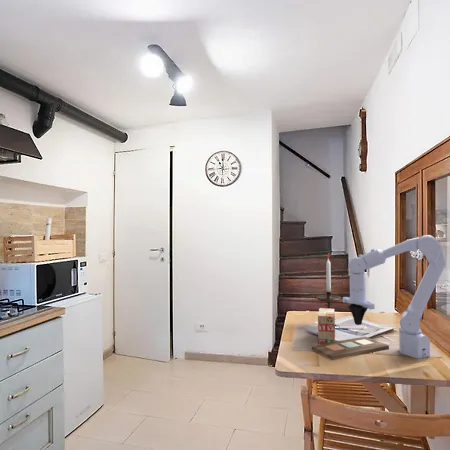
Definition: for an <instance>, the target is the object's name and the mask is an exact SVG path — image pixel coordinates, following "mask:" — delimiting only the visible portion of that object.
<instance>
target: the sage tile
mask: <svg viewBox="0 0 450 450" xmlns="http://www.w3.org/2000/svg"><path fill="white" fill-rule="evenodd" d="M340 345H341V346H343V347H346V348H348V349H353V348H358V347H360V345H357V344H355V343H353V342H346V343H340Z"/></svg>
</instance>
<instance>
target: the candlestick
mask: <svg viewBox="0 0 450 450" xmlns="http://www.w3.org/2000/svg"><path fill="white" fill-rule="evenodd" d="M326 258H327V261H326V268H325V269H326V270H325V271H326V273H325V275H326V279H325V280H326V282H325V283H326V290H324V293H325V292H326V294H319V295H316V300H317V301H320V302H325V303H327V308H326V309H331V303H334V302H335V303H336V302H340V301H342V297H341V296H339V295H335V294H332V293H333V292H334V291H333V290H332V286H331V285H332V283H331V282H332V279H331V277H332V276H331V275H332V274H331V272H332V271H331V268H332V267H331V266H332V265H331V261H330V252H328V254H327V257H326ZM336 325H337V324H336ZM337 326H339V325H337Z"/></svg>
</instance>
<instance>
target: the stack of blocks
mask: <svg viewBox="0 0 450 450" xmlns="http://www.w3.org/2000/svg"><path fill="white" fill-rule="evenodd" d="M335 318H336V317H335V308H330V309H327V308H323V307H320V308H318V314H317V333H318V336H317V338H318V339H317V342H318V343H317V345H319V344H324V343H330V342H336V331H335V325H336V321H335V320H336V319H335Z"/></svg>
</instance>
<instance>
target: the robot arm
mask: <svg viewBox="0 0 450 450" xmlns="http://www.w3.org/2000/svg"><path fill="white" fill-rule="evenodd" d="M442 248H443V247H442V246H441V244H440V243H439V241H438V240H437V239H436V237H434V236H433V235H430V234H425V235H422V236H420V237H419V236H417V237H414V238H410V239H407V240H404V241H402V242H400V243H397V244H395V245H392V246H391V247H388V248H386V249H383V250H382V249H379V248H376V249H375V248H373V249H370V251H369V252H367V253H365V254H361V253H360V254H358V257H353V258H352V259H351V260H349V262H348V265H347V266H348V270H349V296H343V297H342V302H343V303H346V304H350V305H348V309H349V310H350V313H351V315H352V318H353V322H354V325H356V326H360V325H362V324H363V319H364V316H365V314H366V312H367V310H374V309H376V308H375V303H372V302H370V301H368V300H367V296H366V295H367V294H366V292H367V291H366V286H367V285H366V284H367V283H366V273H365V272H366V271H365V270H370V269H373V268H375V267H378V266H381V265H383V264H385V263H386V260H387V259H389V258H392V257H395V256H398V255H399V254H403V253H405V252H408V251H409V252H415V253H416V252H418V250H419V251H420V252H421V253H422V254H423V255H424V256H425V258H426V260H427V262H428V266H427V268H426V269H425V272H424V274H423V276H422V278H421V281H420V283H419V284H418V287H417V288H416V291H415V293H414V295H413V297H412V299H411V301H410V303H409V305H408V307H407V308H406V310H404V311H403V312H402V313H401V314H400V320H399V326H400V327H399V329H398V332H399V333H398V342H399V344H398V345H399V349H398V350H399V351H398V352H399V353H400V354H403V355H406V356H410V357H412V358H414V359H417V360H418V359H419V360H420V359H423V358H427V357H428V358H429V357H430V356H431V349H430V347H431V346H430V344H431V341H430V339H429V337H428V336H427V335H425V334H423V333H422V329H421V319H422V317H423V313H424V312H425V311H424V310H425V309H426V306H427V304H428V302H429V300H430V298H431V296H432V293H433V291H434V289H435V288H436V286H437V283H438V282H439V279H440V277H441V275H442V273H443V271H444V269H445V267H446V261H445V257H444V252H443V249H442Z"/></svg>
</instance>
